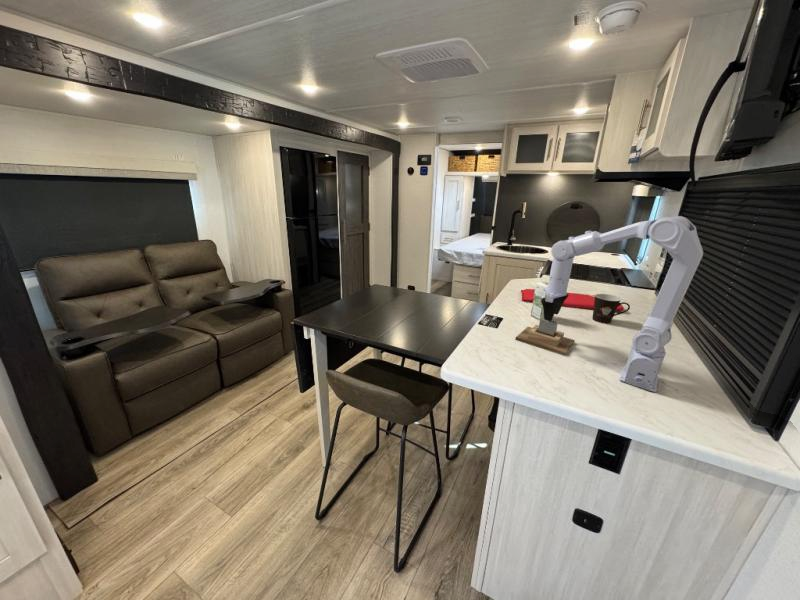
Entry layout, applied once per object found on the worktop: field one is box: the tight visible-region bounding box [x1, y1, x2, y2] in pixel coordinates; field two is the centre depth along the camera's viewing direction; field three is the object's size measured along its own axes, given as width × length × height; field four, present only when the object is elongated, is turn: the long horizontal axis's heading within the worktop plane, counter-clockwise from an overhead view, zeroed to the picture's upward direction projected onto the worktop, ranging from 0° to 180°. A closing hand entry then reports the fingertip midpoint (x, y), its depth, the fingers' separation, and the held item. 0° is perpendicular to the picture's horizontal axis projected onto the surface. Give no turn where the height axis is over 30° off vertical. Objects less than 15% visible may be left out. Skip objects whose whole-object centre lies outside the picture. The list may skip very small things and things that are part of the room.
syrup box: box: [530, 281, 549, 321], centre depth 124 cm, size 6×6×14 cm
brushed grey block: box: [538, 317, 559, 337], centre depth 105 cm, size 3×5×7 cm, turn 49°
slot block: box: [515, 324, 576, 357], centre depth 106 cm, size 12×16×4 cm
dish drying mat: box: [520, 288, 625, 312], centre depth 144 cm, size 16×41×4 cm, turn 72°
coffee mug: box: [592, 293, 631, 325], centre depth 122 cm, size 12×9×10 cm
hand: (551, 316), depth 103 cm, fingers open, 7 cm apart
